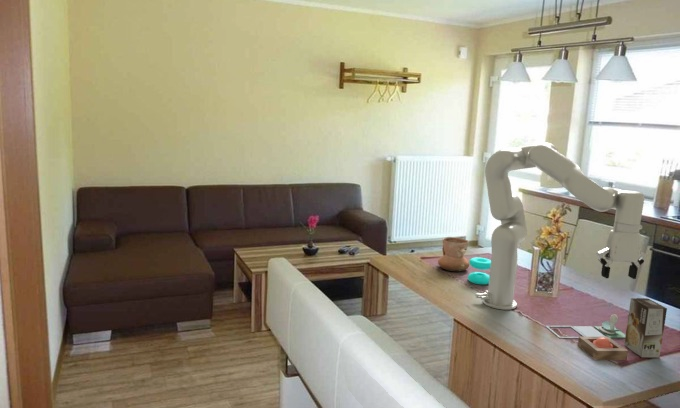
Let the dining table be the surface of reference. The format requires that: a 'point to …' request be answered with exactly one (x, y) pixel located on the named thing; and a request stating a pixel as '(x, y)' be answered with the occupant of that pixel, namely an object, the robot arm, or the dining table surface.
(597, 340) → the popper button
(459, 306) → the dining table surface
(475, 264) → the donuts
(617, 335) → the pad
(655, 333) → the coffee box
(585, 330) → the mid pad
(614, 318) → the pacifier
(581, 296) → the dining table surface
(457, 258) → the ceramic jug
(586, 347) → the box
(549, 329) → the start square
